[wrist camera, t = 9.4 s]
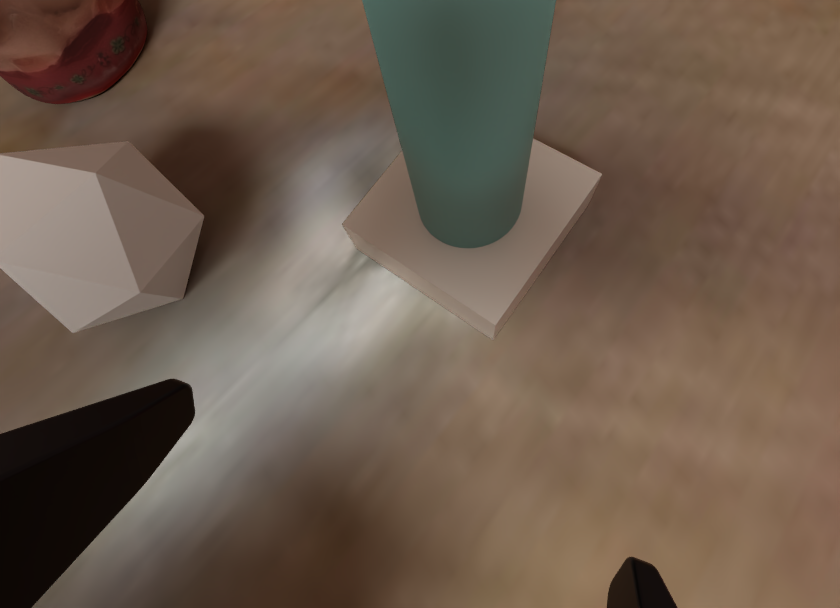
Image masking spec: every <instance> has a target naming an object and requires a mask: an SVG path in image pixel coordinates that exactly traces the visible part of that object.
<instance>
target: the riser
mask: <svg viewBox="0 0 840 608" xmlns="http://www.w3.org/2000/svg"><path fill="white" fill-rule="evenodd" d="M601 176H602V174H601V173H599V172H597V171H595V170H594V169H592V168H590V167H588V166H586V165H584V164H582V163H580V162H578V161H576V160H574V159H572V158H570V157H568V156H566V155H565V154H563V153H561V152H559V151H557V150H555V149H553V148H551V147H549V146H547V145H545V144H543V143H541V142H539V141H537V140H535V139H534V138H533V142H532V148H531V154H530V160H529V166H528V172H527V178H526V184H525V190H524V196H523V202H522V208H521V212H520V215H519V218H518V220H517V221H516V223H515V225H514V226H513V227H512V229H511V230H510V231H509V232H508V233H507V234H506V235H504V236H503V237H502V238H500V239H499V240H497V241H496V242H493V243H491V244H489V245H486V246H483V247H478V248H459V247H454V246H450V245H447V244H445V243H443V242H441V241H439V240H438V239H436V238H435V237H434V236H433V235H431V234H430V232H429V231H428V230H427V229H426V228H425V226H424V225H423V223H422V221H421V218H420V215H419V211H418V208H417V204H416V200H415V196H414V193H413V189H412V185H411V181H410V178H409V174H408V170H407V166H406V163H405V159H404V155H403V151H401V152H400V154H399V155H398V156H397V157H396V158H395V160H394V161H393V162H392V163H391V165H390V166H389V167H388V168H387V170H386V171H385V172H384V173H383V174H382V176H381V177H380V178H379V179H378V181H377V182H376V183H375V184H374V185H373V187H372V188H371V189H370V190H369V192H368V193H367V194H366V195H365V196H364V198H363V199H362V200H361V201H360V203H359V204H358V205H357V206H356V208H355V209H354V210H353V211H352V212H351V214H350V215H349V216H348V217H347V219H346V220H345V221H344V222H343V223H342V225H343V227H344V229H345V230H346V232H347V234H348V235H349V237H350V238H351V240H352V242H353V243H354V245H355V247H356V248H357V249H358V250H359V251H361V252H362V253H364V254H365V255H367V256H368V257H370V258H371V259H373V260H374V261H376V262H377V263H379V264H380V265H382V266H383V267H385V268H386V269H388V270H389V271H391V272H392V273H394V274H395V275H397V276H398V277H400V278H401V279H403V280H404V281H406V282H407V283H409V284H410V285H412V286H413V287H415V288H416V289H418V290H419V291H421V292H422V293H424V294H425V295H427V296H428V297H430V298H431V299H432V300H434V301H435V302H437V303H438V304H440V305H441V306H443V307H444V308H446V309H447V310H449V311H450V312H452V313H453V314H455V315H456V316H458V317H459V318H461V319H462V320H464V321H465V322H467V323H468V324H470V325H471V326H473V327H474V328H476V329H477V330H479V331H480V332H482V333H483V334H485V335H486V336H488V337H489V338H491V339H492V340H494V338H495V337H496V335H497V334H498V333H499V331H500V330H501V328H502V327H503V325H504V324H505V323H506V321H507V320H508V318H509V317H510V315H511V314H512V313H513V311H514V310H515V308H516V307H517V306H518V304H519V303H520V301H521V300H522V298H523V297H524V296H525V294H526V293H527V291H528V290H529V288H530V287H531V286H532V284H533V283H534V281H535V280H536V279H537V277H538V276H539V274H540V273H541V271H542V270H543V269H544V267H545V266H546V264H547V263H548V261H549V260H550V259H551V257H552V256H553V254H554V253H555V252H556V250H557V249H558V247H559V246H560V244H561V243H562V242H563V240H564V239H565V237H566V236H567V234H568V233H569V232H570V230H571V229H572V227H573V226H574V224H575V223H576V222H577V220H578V219H579V217H580V216H581V215H582V213H583V212H584V210H585V209H586V207H587V206H588V204H589V202H590V200H591V198H592V196H593V193H594V191H595V189H596V187H597V185H598V183H599V180H600V178H601Z"/></svg>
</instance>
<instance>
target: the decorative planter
mask: <svg viewBox="0 0 840 608" xmlns="http://www.w3.org/2000/svg"><path fill="white" fill-rule="evenodd" d="M146 36H147V24H146V20H145V16H144V13H143V9H142V7H141V5H140V3H139V1H138V0H0V76H1V77H2V78H3V79H5V80H6V81H7V82H8V83H9V84H10V85H12V86H13V87H14V88H16V89H17V90H18V91H20V92H21V93H23V94H25V95H26V96H28V97H31V98H33V99H35V100H38V101H41V102H45V103H52V104H65V103H71V102H76V101H81V100H85V99H88V98H91V97H94V96H96V95H98V94H100V93H102V92H104V91H105V90H107V89H108V88H109V87H111V86H112V85H113V84H114V83H115V82H117V81H118V80H119V79H120V78H121V77H122V76H123V75H124V74H125V73H126V72H127V71H128V70H129V69H130V67H131V66H132V65H133V63H134V62H135V60H136V59H137V57H138V56H139V54H140V52H141V51H142V49H143V46H144V43H145V40H146Z"/></svg>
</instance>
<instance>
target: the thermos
mask: <svg viewBox="0 0 840 608" xmlns="http://www.w3.org/2000/svg"><path fill="white" fill-rule="evenodd" d="M362 1H363V5H364V9H365V12H366V16H367V20H368V24H369V27H370V31H371V35H372V39H373V43H374V46H375V50H376V54H377V58H378V61H379V65H380V69H381V73H382V76H383V80H384V84H385V88H386V91H387V95H388V99H389V103H390V106H391V110H392V114H393V118H394V121H395V125H396V129H397V133H398V136H399V140H400V144H401V148H402V151H403V155H404V159H405V163H406V166H407V170H408V174H409V178H410V181H411V185H412V189H413V193H414V196H415V200H416V204H417V208H418V211H419V215H420V218H421V221H422V223H423V225H424V226H425V228H426V229H427V230H428V231H429V232H430V234H431V235H433V236H434V237H435V238H436V239H438V240H439V241H441V242H443V243H445V244H447V245H450V246H454V247H459V248H478V247H483V246H486V245H489V244H491V243H493V242H496V241H497V240H499V239H500V238H502V237H503V236H504V235H506V234H507V233H508V232H509V231H510V230H511V229H512V227H513V226H514V225H515V223H516V221H517V220H518V218H519V215H520V212H521V208H522V202H523V196H524V190H525V184H526V178H527V172H528V166H529V160H530V154H531V148H532V142H533V136H534V130H535V124H536V118H537V112H538V106H539V100H540V94H541V87H542V81H543V75H544V69H545V63H546V57H547V51H548V45H549V39H550V33H551V27H552V21H553V15H554V9H555V3H556V0H362Z"/></svg>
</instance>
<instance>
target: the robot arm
mask: <svg viewBox="0 0 840 608" xmlns="http://www.w3.org/2000/svg"><path fill="white" fill-rule="evenodd" d="M194 416H195V407H194V399H193V392H192V387H191V386H190V385H189V384H187V383H185V382H182V381H180V380H177V379H168V380H165V381H162V382H159V383H156V384H153V385H149V386H146V387H143V388H140V389H137V390H134V391H131V392H128V393H125V394H122V395H119V396H116V397H113V398H110V399H106V400H103V401H100V402H97V403H94V404H91V405H88V406H85V407H82V408H79V409H76V410H73V411H70V412H66V413H63V414H60V415H57V416H54V417H51V418H48V419H45V420H42V421H39V422H36V423H33V424H30V425H26V426H23V427H20V428H17V429H14V430H11V431H8V432H5V433H2V434H0V608H31V607H32V606H33V605H34V604H35V603H36V602H37V601H38V600H39V599H40V598H41V597H42V595H43V594H44V593H45V592H46V591H47V590H48V589H49V588H50V587H51V586H52V585H53V583H54V582H55V581H56V580H57V579H58V578H59V577H60V576H61V575H62V574H63V573H64V572H65V570H66V569H67V568H68V567H69V566H70V565H71V564H72V563H73V562H74V561H75V560H76V558H77V557H78V556H79V555H80V554H81V553H82V552H83V551H84V550H85V549H86V548H87V547H88V545H89V544H90V543H91V542H92V541H93V540H94V539H95V538H96V537H97V536H98V535H99V533H100V532H101V531H102V530H103V529H104V528H105V527H106V526H107V525H108V524H109V523H110V521H111V520H112V519H113V518H114V517H115V516H116V515H117V514H118V513H119V512H120V511H121V510H122V508H123V507H124V506H125V505H126V504H127V503H128V502H129V501H130V500H131V499H132V498H133V496H134V495H135V494H136V493H137V492H138V491H139V490H140V489H141V487H142V486H143V485H144V484H145V483H146V482H147V480H148V479H149V478H150V477H151V475H152V474H153V473H154V472H155V470H156V469H157V468H158V466H159V465H160V464H161V462H162V461H163V460H164V458H165V457H166V456H167V455H168V453H169V452H170V451H171V449H172V448H173V447H174V445H175V444H176V443H177V441H178V440H179V439H180V437H181V436H182V435H183V434H184V432H185V431H186V430H187V428H188V427H189V426H190V424H191V423H192V421H193V419H194ZM607 608H677V606H676V604H675V602H674V600H673V598H672V596H671V595H670V593H669V591H668V589H667V587H666V585H665V583H664V581H663V579H662V578H661V576H660V574H659V572H658V570H657V569H656V568H655V567H654V566H653V565H652V564H650V563H648V562H645V561H642V560H640V559H637V558H635V557H629V558H627V559H626V560H625V562H624V563H623V565H622V566H621V568H620V569H619V571H618V572H617V574H616V575H615V577H614V578H613V580H612V582H611V584H610V587H609V592H608V600H607Z"/></svg>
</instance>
